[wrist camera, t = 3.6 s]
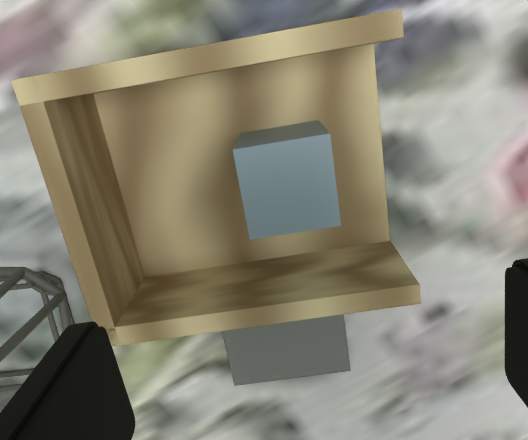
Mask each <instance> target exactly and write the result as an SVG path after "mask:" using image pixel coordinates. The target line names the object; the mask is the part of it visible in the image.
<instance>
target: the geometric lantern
mask: <svg viewBox="0 0 528 440" xmlns="http://www.w3.org/2000/svg"><path fill="white" fill-rule="evenodd" d="M0 276H1V277H0V282H2V281H5V282H4V283H2V284H1V285H0V298H1V297H2V296H3V295H4V294H6V293H7V292H8V291H9V290H17V289H26V288H33V289H35V290H36V291H38V292H40V293H41V296H42V299H43V303H44V307H43V308H42V309H41V310H40V311H39V312H38V313H37V314H36V315H35V316H33V317H32V318H31V319H30V320H29V321H28V322H27V323H26V324H25V325H24V326H23V327H22V328H21V329H20V330H18V331H17V332H16V333H15V334H14V335H13V336H12V337H11V338H10V339H9V340H8V341H7V342H6V343H5V344H3V345H2V346H1V347H0V362H1V361H2V360H3V359H4V358H5V357H6V356H7V355H8V354H9V353H10V352H11V351H12V350H13V349H14V348H15V347H16V346H17V345H18V344H19V343H20V342H21V341H22V340H23V339H24V338H25V337H26V336H27V335H28V334H29V333H30V332H31V331H32V330H33V329H34V328H35V327H36V326H37V325H38V324H39V323H40V322H42V321H43V320H44V319H45V318H46V317H47V316H48V320H49V323H50V326H51V330H52V333H53V337H54V340H55V342H56V341H57V339H58V338H59V333H58V330H57V327H56V323H55V320H54V316H53V313H52V311H53V310H54V309H55V308H56V307H57V306H58V305H59V311H60V316H61V322H62V328H63V332H64V330H65V329H66V328H67V327H68V326H69V325H72V324H74V323H73V319H72V316H71V313H70V309H69V306H68V302H67V298H66V293H65V291H64V289H63V286H62V282H61V280H60V279H59V278H57V277H54V276H52V275H49V274H47V273H44V272H38V273H35V272H33V271H32V270H30V269H28V268H26V267H0ZM21 279H25V280H26V282H27V283H22V284H16V283H17V282H18V281H20V280H21ZM47 279H48V280H47ZM49 280H50V281H51V282H50V281H49ZM37 284H38V285H37ZM39 285H40V286H39ZM42 287H43V288H42ZM44 288H45V289H44ZM48 295H53V296H54V297H53V298H52V299H51V300H50V301H49V299H48ZM33 370H34V369H32V370H22V371H11V372H1V373H0V377H10V376H21V375H30V374H31V373H32V371H33ZM21 386H22V384H15V385H6V386H0V391H8V390H17V389H19V388H20V387H21Z"/></svg>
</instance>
